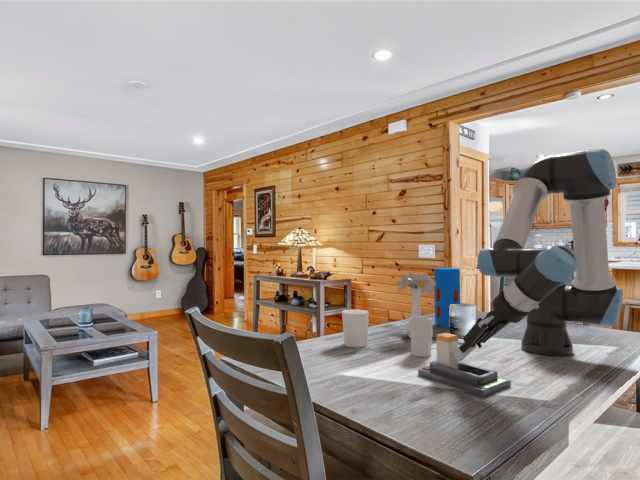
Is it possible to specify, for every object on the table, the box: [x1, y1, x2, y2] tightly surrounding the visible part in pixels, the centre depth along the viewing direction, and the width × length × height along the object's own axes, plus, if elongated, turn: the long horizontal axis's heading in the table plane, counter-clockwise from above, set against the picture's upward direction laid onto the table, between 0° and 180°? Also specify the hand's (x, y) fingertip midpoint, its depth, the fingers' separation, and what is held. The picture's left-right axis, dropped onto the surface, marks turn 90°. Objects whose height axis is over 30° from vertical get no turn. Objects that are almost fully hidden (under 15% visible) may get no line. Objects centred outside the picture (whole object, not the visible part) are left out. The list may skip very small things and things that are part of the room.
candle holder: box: [341, 308, 370, 349], centre depth 146 cm, size 10×10×12 cm
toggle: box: [436, 332, 459, 369], centre depth 112 cm, size 4×4×9 cm
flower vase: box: [396, 272, 436, 339], centre depth 158 cm, size 13×18×25 cm
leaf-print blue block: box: [433, 267, 461, 329], centre depth 178 cm, size 11×11×25 cm
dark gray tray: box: [417, 360, 512, 398], centre depth 108 cm, size 20×12×4 cm, turn 35°
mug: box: [409, 315, 434, 358], centre depth 134 cm, size 10×7×12 cm, turn 131°
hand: (456, 356), depth 109 cm, fingers closed
